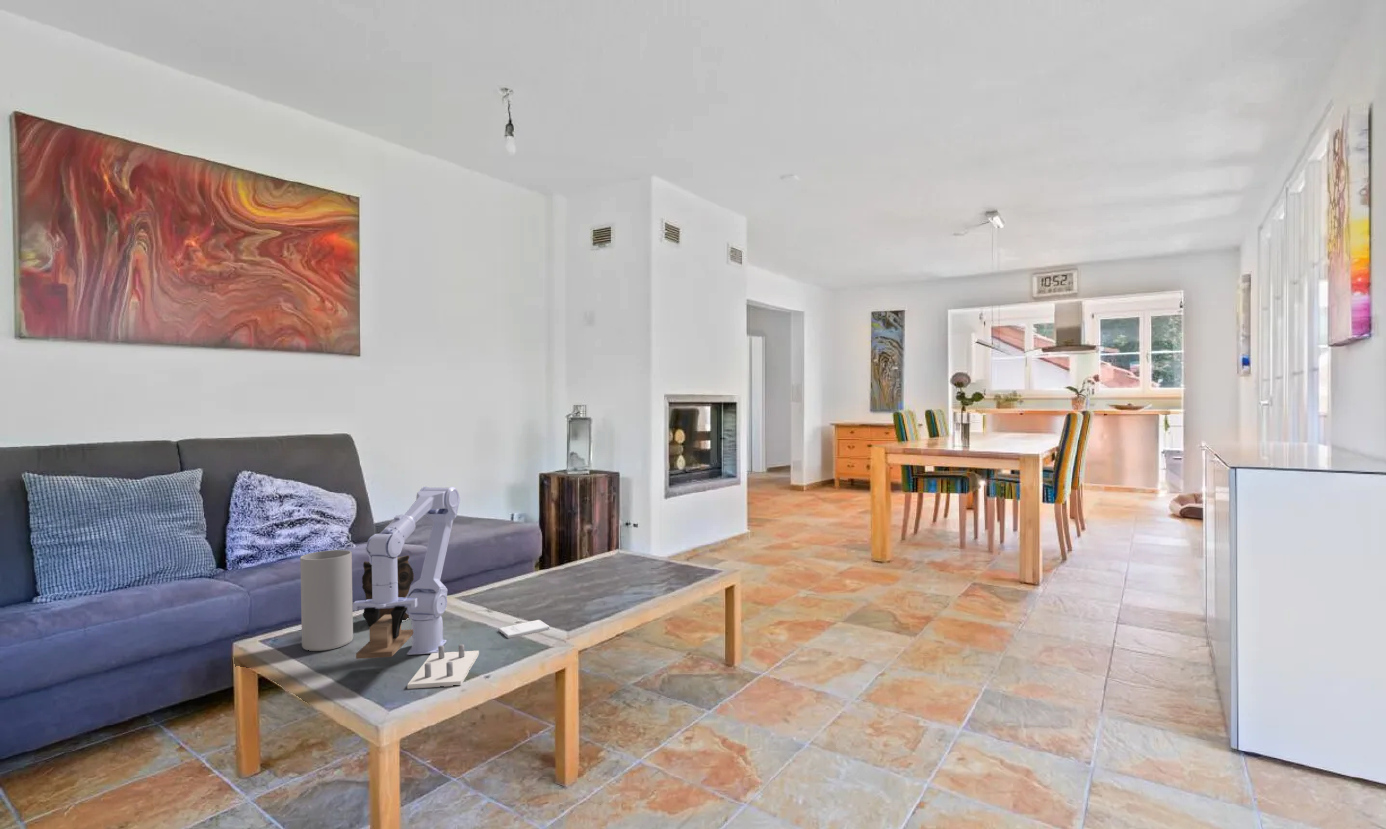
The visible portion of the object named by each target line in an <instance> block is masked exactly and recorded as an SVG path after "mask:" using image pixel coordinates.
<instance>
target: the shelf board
mask: <svg viewBox="0 0 1386 829" xmlns="http://www.w3.org/2000/svg"><path fill="white" fill-rule="evenodd" d="M412 635H413V629H412V628H409V629H402V625H401V626H400V630H399V636H398V637H397V638H396V639H393V623H392V616H391V614H389V615H384V616H382V617H381V618H380V619H379V620H378V621H377V622H375V623H374V624H373V625H372V626H371V627H369V641H367V643H366V644H365V645H364V646H362V648H360V650H358V651H357V652H356V653H355V659H358V660H359V659H374V658H375V659H376V658H378V659H379V658H392V657H393V656H394V655H395V654H396V653H397V652H398V651H399V650H400V649H401V648H402V647H403V645H404V644H406V642H407V641H409V639H410V638H412Z"/></svg>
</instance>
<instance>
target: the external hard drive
mask: <svg viewBox="0 0 1386 829" xmlns="http://www.w3.org/2000/svg"><path fill="white" fill-rule="evenodd" d="M548 629H549V630H550V625H548V624H546V623H545V622H543V621H542V620H541V619H536V620H532V621H527V622H523V623H521V622H520V623H517V624H513V625H509V626H508V625H507V626H503V627H499V628H498V632H499V633H500V632H501V635H503V636H504V637H506V638H507V639H513V638H517V637H521V636H527V635H530V634H534V633H535V634H536V633H540V632H544V631H548Z"/></svg>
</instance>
